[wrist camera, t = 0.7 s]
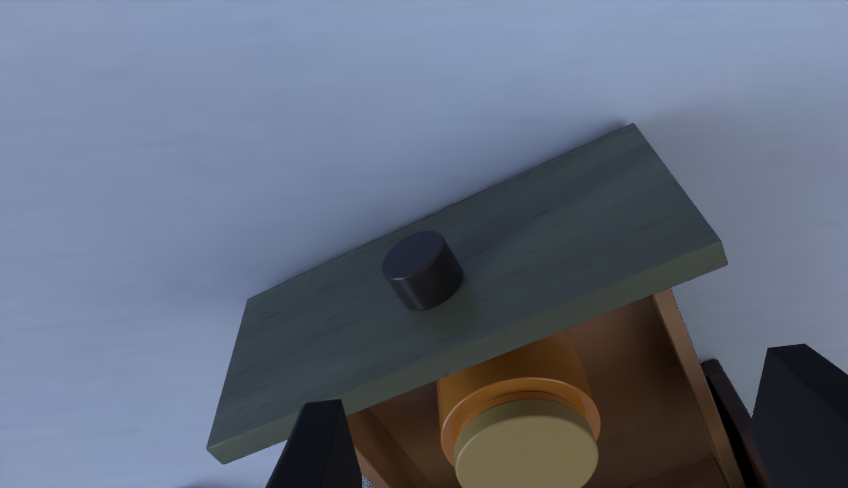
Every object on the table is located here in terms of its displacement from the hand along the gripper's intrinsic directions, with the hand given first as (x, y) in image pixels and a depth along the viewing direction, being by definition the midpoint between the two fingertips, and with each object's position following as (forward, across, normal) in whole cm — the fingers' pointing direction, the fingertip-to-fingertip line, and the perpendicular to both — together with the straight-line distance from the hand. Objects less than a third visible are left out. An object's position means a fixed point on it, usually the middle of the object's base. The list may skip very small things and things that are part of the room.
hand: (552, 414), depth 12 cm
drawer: (+10, 0, +8) cm, 13 cm away
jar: (+9, 0, +7) cm, 11 cm away
